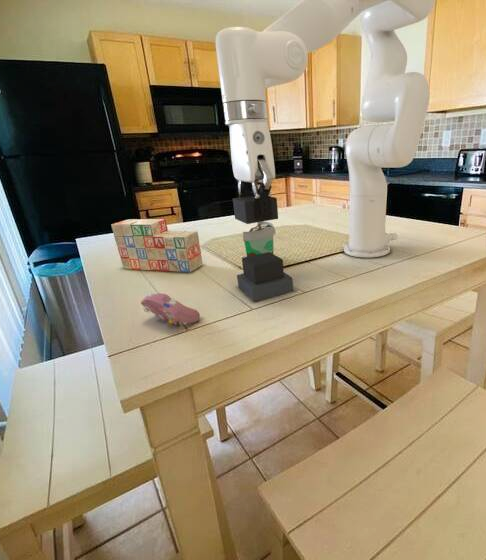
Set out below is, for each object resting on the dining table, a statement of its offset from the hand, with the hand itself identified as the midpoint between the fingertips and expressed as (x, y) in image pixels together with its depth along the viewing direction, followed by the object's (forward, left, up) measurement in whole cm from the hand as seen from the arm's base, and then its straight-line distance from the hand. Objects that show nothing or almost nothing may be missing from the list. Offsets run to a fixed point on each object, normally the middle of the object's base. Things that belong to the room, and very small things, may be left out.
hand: (256, 215), depth 66 cm
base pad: (-1, 0, -16) cm, 16 cm away
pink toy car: (+19, +3, -16) cm, 26 cm away
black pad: (0, 0, -1) cm, 1 cm away
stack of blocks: (+16, -31, -16) cm, 38 cm away
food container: (-8, -15, -16) cm, 24 cm away
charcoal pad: (0, 0, -13) cm, 13 cm away
